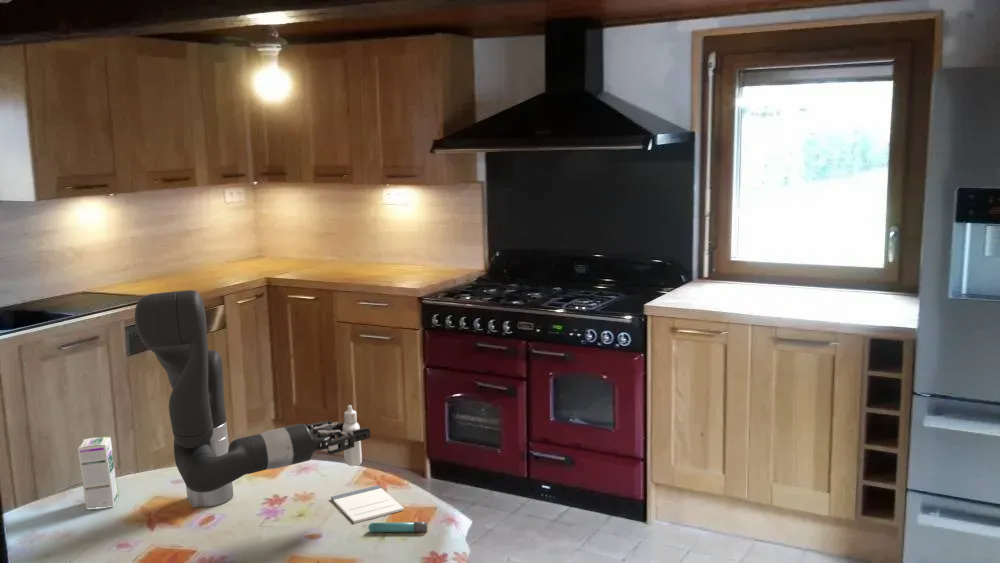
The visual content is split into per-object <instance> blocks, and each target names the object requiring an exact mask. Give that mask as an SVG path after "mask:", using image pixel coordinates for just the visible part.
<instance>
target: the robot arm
mask: <svg viewBox="0 0 1000 563" xmlns="http://www.w3.org/2000/svg"><path fill="white" fill-rule="evenodd" d="M205 309H206V308H205V304H204V301H203V298H202V296H201V294H200V293H199V292H198V291H197V290H193V289H190V290H178V291H176V290H175V291H168V292H167V291H166V292H158V293H151V294H148V295H144V296H143V297H141V298H140V299H139V300H138V301H137V304H136V305H135V310H134V324H135V329H136V332H137V335H138V336H139V337H138V338H139V339H140V340H141V342H142V344H143V345H144V346H145V347H146V348H148V350H150V351H151V352H152V353H153V354H154V355H155V356H156V360H158V362H159V364H160V366H161V367H163V369H164V371H165V373H166V375H167V377H168V381H169V384H170V387H171V389H172V392H171V394H170V397H169V402H168V413H169V418H170V424H171V431H172V435H173V456H174V460H175V464H176V468H177V470H178V472H179V474H180V477H181V478H182V479H183V482H184V484H185V487H186V488H185V489H186V497H187V498H186V499H187V500H188V502H189V503H190V505H191V507H192V508H193V509H194V508H198V507H199V508H200V507H201V508H202V507H203V508H204V507H205V508H206V507H207V508H208V507H215V506H219V505H221V504H224V503H226V502H228V501H230V500H231V499H232V498H234V487H233V485H234V484H233V482H235V481H236V480H238V479H240V478H242V477H243V476H245V475H250V474H253V473H258V472H259V473H260V472H263V471H266V470H274V469H280V468H284V467H288V466H292V465H296V464H297V465H298V464H300V463H304V462H309V461H311V459H312V458H313V455H314V453H315V451H320V452H325V451H327V455H334V454H337V453H340V452H344V450H347V449H350V448H353V447H355V445H354V442H357V441H361V442H362V441H364V440H365V441H366V440H368V439H370V438H371V430H370V428H369V427H362V428H360V429H358V430H353V431H347V432H343V425H344V423H345V421H343V422H337V421H334V422H333V420H325V421H319V422H315V423H312V422H311V423H307V424H305V423H297V424H291V425H288V426H284V427H278V428H275V429H271V430H267V431H264V432H262V433H258V434H253V435H249V436H243V437H239V438H237V439H234V440H232V441H231V442H230V443H229V434H228V424H227V413H226V404H225V393H224V392H225V391H224V390H225V389H224V368H223V360H222V357H221V354H220V353H219V351H217V350H216V349H212V350H211V349H209V346H208V344H209V343H208V327H207V326H208V325H207V316H206V310H205ZM357 421H358V420H357ZM357 421H356V422H357ZM357 423H358V422H357ZM345 440H348V441H345Z"/></svg>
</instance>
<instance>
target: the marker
mask: <svg viewBox="0 0 1000 563" xmlns="http://www.w3.org/2000/svg"><path fill="white" fill-rule="evenodd" d="M367 529H368V531H370V532H371V533H418V532H419V533H420V532H423V533H427V532H428V522H427V521H412V522H409V521H408V522H404V521H403V522H371V523H369V524H368V528H367Z"/></svg>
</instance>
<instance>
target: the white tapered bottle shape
mask: <svg viewBox="0 0 1000 563" xmlns="http://www.w3.org/2000/svg"><path fill="white" fill-rule="evenodd" d="M343 413H344V422H345V423H344V425H343V432H347V431H353V430H358V429H361V428H360V427H361V426H360V424H359V423H358V422H356V421H358V420H357V419H358V418H357V417H358V416H357V415H358V414H357V411H356V410H354V409H353V406H352V405H351V404H349V405H347V410H345V411H344V412H343ZM345 441H348V440H345ZM354 445H355V447H353V448H350V449H347V450H344V451H343V455H344V462H345V464H346V465H347V466H349V467H352V466H353V467H354V466H359V465H361V464H362V462H363V455H362V440H361V441H357V442H354Z"/></svg>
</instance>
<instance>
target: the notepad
mask: <svg viewBox="0 0 1000 563" xmlns="http://www.w3.org/2000/svg"><path fill="white" fill-rule="evenodd" d="M330 500H331V501H332V502H333V503H334V504H335V505H336V506H337V507H338V508H339V510H341V511H342V512H343V513H344V515H345V516H347V517H348V519H349V520H350V521H351V522H352V523H353V524H357V523H360V522H364V521H369V520H371V519H376V518H379V517H384V516H387V515H392V514H395V513H399V512H401V511H404V510H405V508H404V507H403V505H401V504H400V503H399V502H397V501H396V499H394V498H393V497H392V496H391V495H390V494H389V493H387V491H385V490H384V489H383V488H382V487H381V486H380V485H378V484H377V485H374V486H369V487H366V488H360V489H358V490H353V491H349V492H345V493H341V494H337V495H332V496H330Z"/></svg>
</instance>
